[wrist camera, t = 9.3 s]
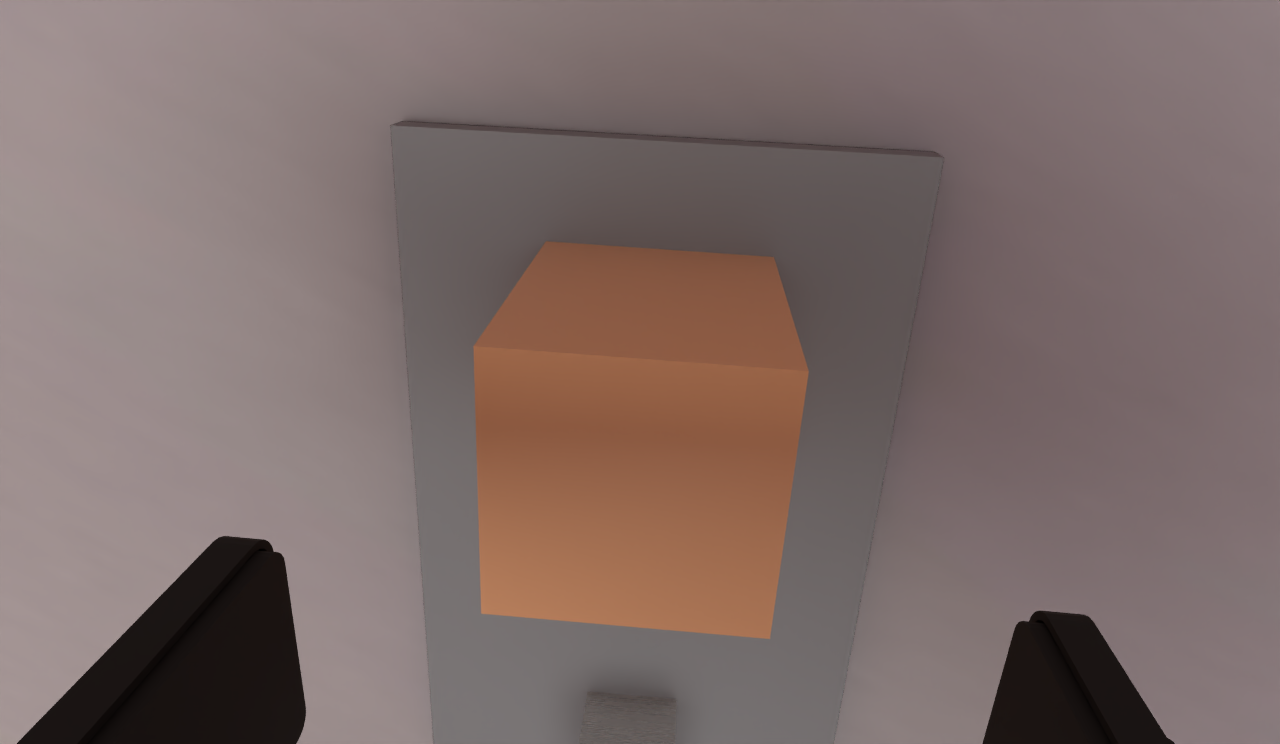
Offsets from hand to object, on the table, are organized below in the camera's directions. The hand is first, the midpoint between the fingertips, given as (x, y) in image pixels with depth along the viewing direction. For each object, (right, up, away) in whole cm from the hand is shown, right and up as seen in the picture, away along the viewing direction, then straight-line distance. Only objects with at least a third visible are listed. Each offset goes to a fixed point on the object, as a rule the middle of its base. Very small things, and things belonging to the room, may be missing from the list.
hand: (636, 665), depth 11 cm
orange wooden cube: (0, +4, +9) cm, 10 cm away
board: (0, -1, +12) cm, 12 cm away
